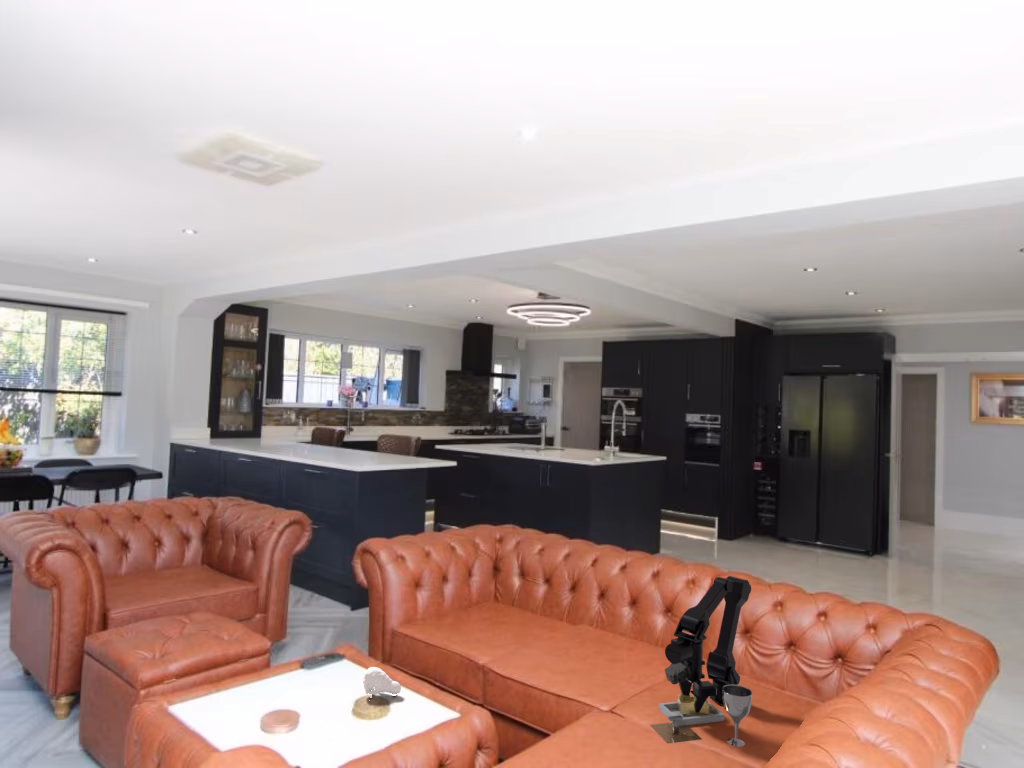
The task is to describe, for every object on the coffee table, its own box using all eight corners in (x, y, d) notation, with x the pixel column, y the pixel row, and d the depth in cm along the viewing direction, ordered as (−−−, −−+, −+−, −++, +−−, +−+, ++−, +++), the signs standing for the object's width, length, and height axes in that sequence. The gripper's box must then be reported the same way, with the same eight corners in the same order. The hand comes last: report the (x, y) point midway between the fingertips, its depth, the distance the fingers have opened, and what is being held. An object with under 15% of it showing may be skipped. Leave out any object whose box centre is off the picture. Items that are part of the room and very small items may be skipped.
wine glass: (716, 736, 199) (718, 684, 199) (743, 736, 199) (745, 684, 199) (727, 751, 191) (729, 696, 191) (755, 750, 191) (757, 696, 191)
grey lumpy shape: (368, 662, 222) (405, 668, 221) (365, 689, 222) (401, 695, 221) (362, 670, 216) (400, 676, 215) (359, 697, 216) (396, 704, 215)
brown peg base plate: (682, 722, 207) (683, 706, 207) (702, 740, 196) (702, 724, 196) (649, 726, 204) (649, 710, 204) (667, 745, 193) (668, 728, 193)
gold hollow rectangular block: (680, 713, 208) (680, 702, 208) (677, 705, 214) (677, 694, 214) (715, 716, 207) (715, 705, 207) (711, 707, 213) (712, 696, 213)
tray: (704, 705, 218) (704, 698, 218) (724, 722, 208) (724, 714, 208) (658, 710, 214) (658, 703, 214) (676, 727, 203) (676, 720, 203)
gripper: (654, 646, 218) (653, 696, 218) (684, 670, 200) (683, 724, 200) (686, 644, 221) (684, 693, 221) (718, 667, 203) (717, 720, 203)
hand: (691, 707), depth 211 cm, fingers closed on gold hollow rectangular block, 7 cm apart
